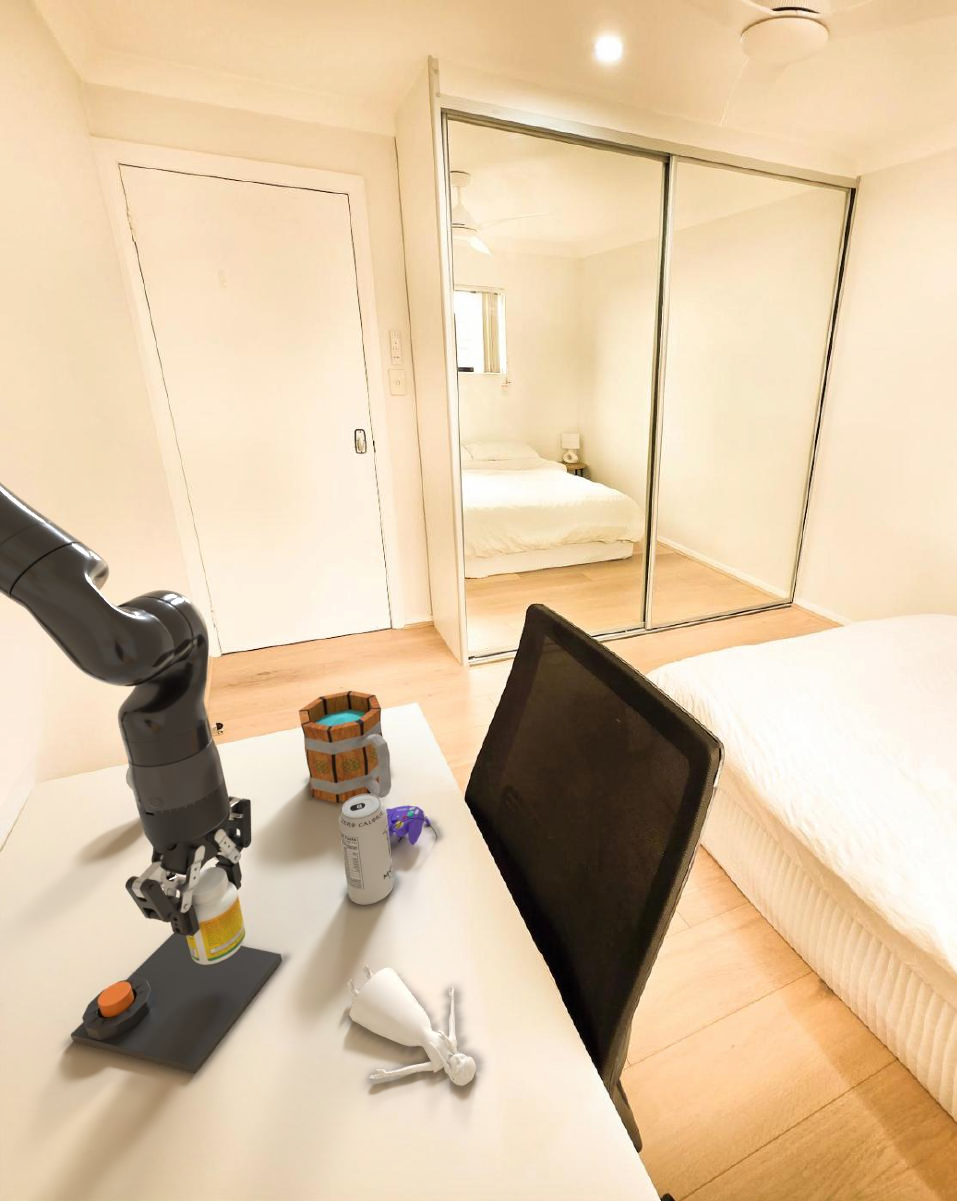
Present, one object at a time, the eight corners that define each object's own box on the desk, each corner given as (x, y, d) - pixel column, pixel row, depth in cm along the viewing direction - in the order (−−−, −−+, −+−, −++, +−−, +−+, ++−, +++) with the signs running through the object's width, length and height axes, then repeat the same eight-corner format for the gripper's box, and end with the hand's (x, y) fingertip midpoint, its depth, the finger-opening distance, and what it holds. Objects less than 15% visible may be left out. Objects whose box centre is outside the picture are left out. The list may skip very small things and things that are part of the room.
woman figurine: (397, 929, 73) (510, 1015, 64) (398, 954, 74) (508, 1042, 66) (310, 1007, 63) (429, 1120, 55) (313, 1034, 65) (430, 1148, 57)
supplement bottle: (180, 965, 65) (162, 899, 62) (211, 924, 70) (195, 861, 67) (229, 967, 65) (213, 901, 62) (256, 926, 71) (243, 862, 67)
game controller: (346, 843, 87) (378, 790, 95) (372, 877, 91) (401, 824, 99) (402, 839, 84) (431, 785, 93) (427, 875, 88) (452, 819, 96)
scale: (74, 1047, 63) (65, 1024, 62) (178, 942, 75) (172, 921, 74) (196, 1078, 60) (189, 1055, 59) (283, 965, 73) (279, 944, 71)
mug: (293, 785, 105) (281, 711, 100) (362, 752, 115) (354, 683, 110) (354, 835, 94) (343, 755, 89) (424, 794, 104) (419, 719, 99)
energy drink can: (398, 899, 82) (389, 811, 77) (353, 916, 79) (340, 826, 74) (389, 870, 87) (380, 785, 82) (346, 885, 84) (333, 799, 79)
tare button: (94, 1014, 63) (90, 1003, 62) (119, 990, 66) (115, 979, 65) (116, 1020, 63) (112, 1008, 62) (140, 995, 65) (137, 984, 65)
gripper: (205, 741, 68) (230, 857, 73) (79, 825, 54) (122, 960, 60) (263, 749, 67) (284, 868, 72) (149, 838, 53) (186, 974, 59)
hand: (210, 909), depth 66 cm, fingers closed on supplement bottle, 5 cm apart
